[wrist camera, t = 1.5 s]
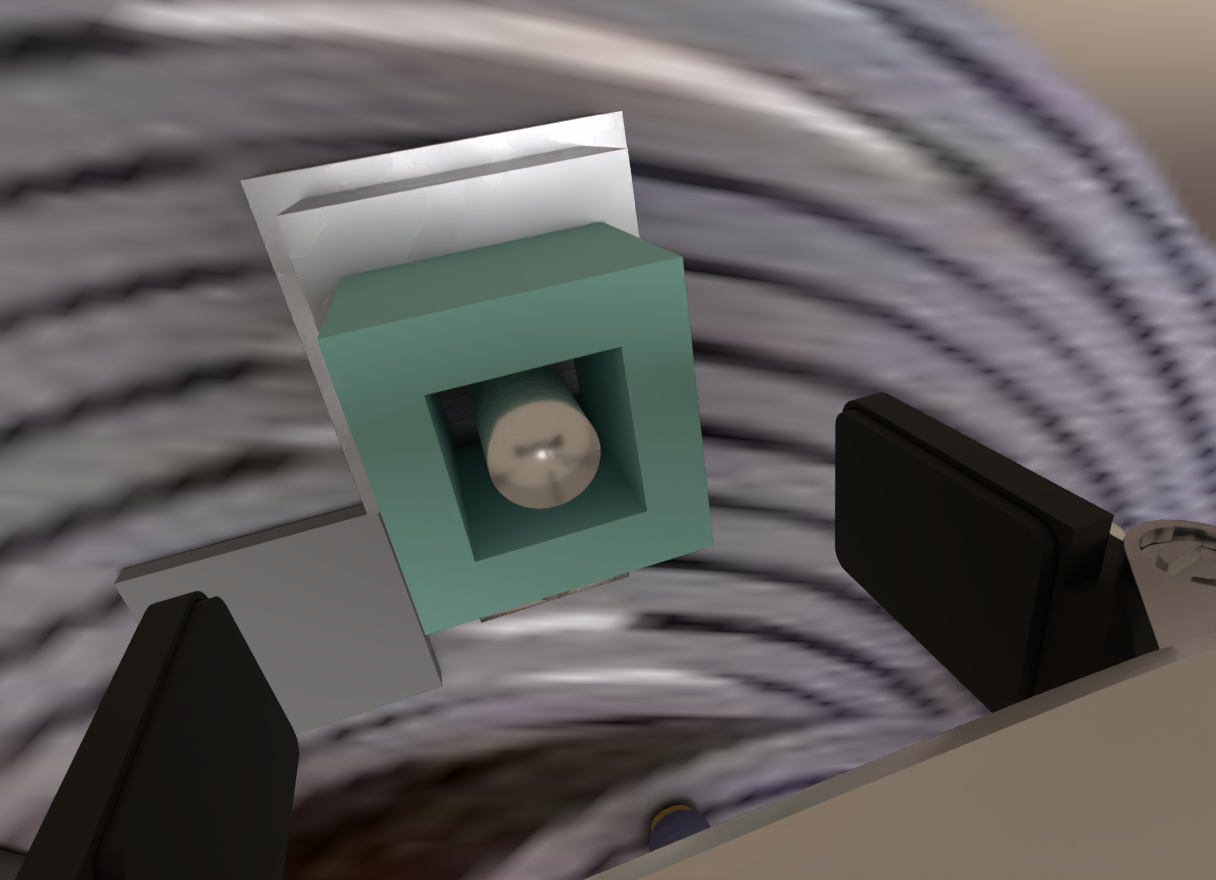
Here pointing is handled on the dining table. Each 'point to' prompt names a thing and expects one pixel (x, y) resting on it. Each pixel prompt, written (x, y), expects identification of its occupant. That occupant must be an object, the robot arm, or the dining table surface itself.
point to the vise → (448, 223)
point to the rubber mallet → (675, 826)
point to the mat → (309, 612)
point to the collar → (505, 344)
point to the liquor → (10, 865)
